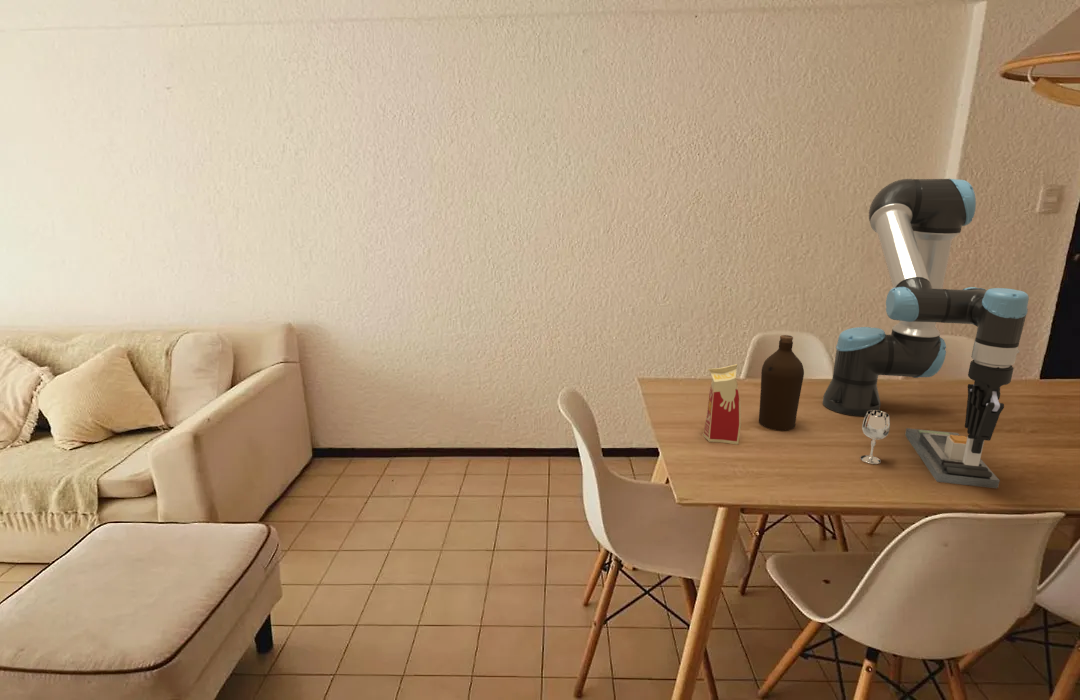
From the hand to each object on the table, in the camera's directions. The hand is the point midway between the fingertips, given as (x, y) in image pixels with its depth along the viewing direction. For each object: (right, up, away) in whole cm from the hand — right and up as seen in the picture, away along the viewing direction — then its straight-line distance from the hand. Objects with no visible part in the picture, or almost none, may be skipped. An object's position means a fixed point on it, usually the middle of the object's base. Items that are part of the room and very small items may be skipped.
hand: (970, 463), depth 139 cm
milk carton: (-48, +2, +26) cm, 55 cm away
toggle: (+2, -1, +8) cm, 8 cm away
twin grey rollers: (0, -2, +2) cm, 3 cm away
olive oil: (-30, +5, +34) cm, 46 cm away
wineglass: (-15, -2, +13) cm, 20 cm away
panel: (+3, -1, +13) cm, 13 cm away
